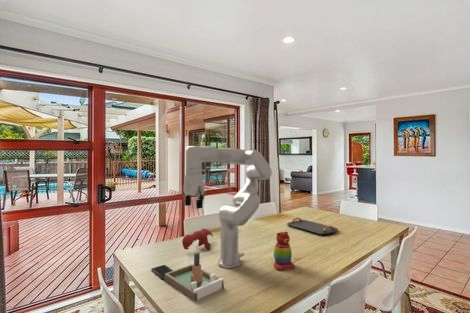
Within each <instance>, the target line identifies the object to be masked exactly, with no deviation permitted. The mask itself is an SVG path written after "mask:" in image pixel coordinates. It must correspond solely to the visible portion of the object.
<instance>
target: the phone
mask: <svg viewBox="0 0 470 313" xmlns="http://www.w3.org/2000/svg"><path fill="white" fill-rule="evenodd" d="M150 270H151V272H152V273H153V274H154V273H155V274H154V275H156V276H157V277H158V278H159V279H160V278H161V279H160V280H162V281H163V280H164V281H165V279H164V274H165V273H168V272H171V271H174V270H173V269H171V267H169V266H167V265H166V264H163V265H158V266H155V267H152V268H151V269H150ZM165 282H166V281H165Z"/></svg>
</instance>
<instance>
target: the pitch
mask: <svg viewBox="0 0 470 313" xmlns="http://www.w3.org/2000/svg"><path fill="white" fill-rule="evenodd" d="M192 265H193V264H189V265H185V266H183V267H179V268H177V269H175V270H173V271H171V272H168V273H165V274H164V279H165V282H166V283H168V284H169V285H171V286H172V287H174V288H175V289H176V290H178V291H179V292H181V293H183V294H184V295H185V296H186V297H187V298H189V299H191V300H192V301H194V302H196V301H198V300H200V299H203V298H204V297H207V296H209V295H211V294H213V293H215V292H217V291H219V290H221V289H223V288H225V287H224V286H225V285H224V283H225V282H224V281H225V279H224V277H220V278H219V277H217V274H216V273H215V272H214V273H212V274H211V273H209V272H208V271H206V270H204V269H202V268H201V272H202V273H203V282H204V281H207V282H208V284H206V285H204V286H201V284H202V282H201V283H198V284H197V282H196V281H194V282H192V283H191V275H192Z"/></svg>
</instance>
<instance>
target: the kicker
mask: <svg viewBox="0 0 470 313" xmlns="http://www.w3.org/2000/svg"><path fill="white" fill-rule="evenodd" d="M200 257H201V256H200V252H194V253H193V264H192V275H191V283H192V282H194V281H196V282H197V284H198V283H201V282H203V273H202V272H201V269H202V264H201V263H200Z"/></svg>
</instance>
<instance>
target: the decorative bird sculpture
mask: <svg viewBox="0 0 470 313" xmlns="http://www.w3.org/2000/svg"><path fill="white" fill-rule="evenodd" d="M208 236H211V237H212V238H214V235H213V233H212V231H211V230H209V229H207V228H201V230H198V231H194V232H193V233H192V234H186V235H184V237H183V238H182V240H181V244H182V247H183V249H184V250H189V248H190V247H191V246H193V243H195V242H196V241H198V244H197V245H196V246H195V248H196V249H198V247H201V246H203V245H204V246H203V248H205V249H206V250H207V251H210V249H211V247H212V244H211V243H210V242H209V239H208Z"/></svg>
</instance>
